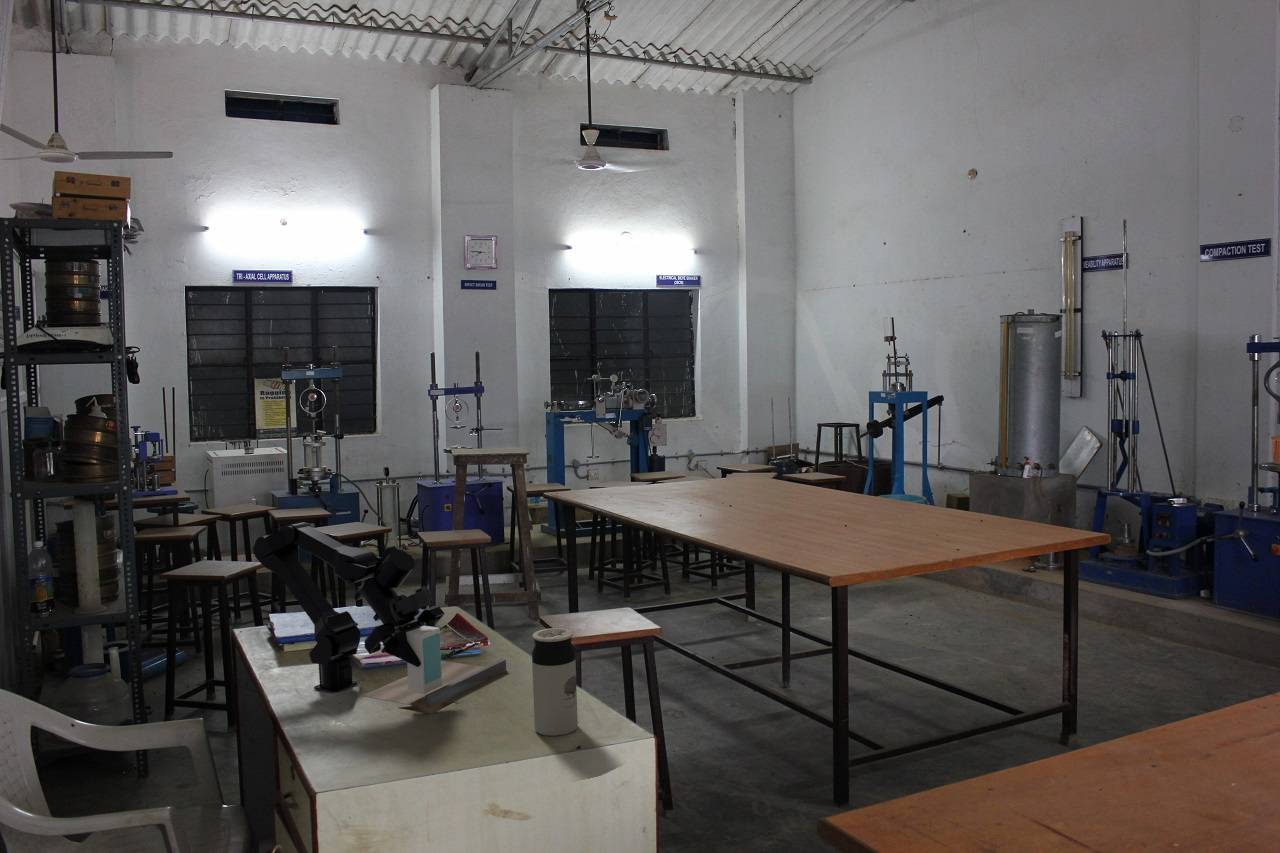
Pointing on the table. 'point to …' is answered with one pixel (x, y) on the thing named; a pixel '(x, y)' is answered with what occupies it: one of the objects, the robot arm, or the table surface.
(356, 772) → the table surface
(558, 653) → the travel mug
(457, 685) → the shelf board
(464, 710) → the table surface
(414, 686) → the product box
